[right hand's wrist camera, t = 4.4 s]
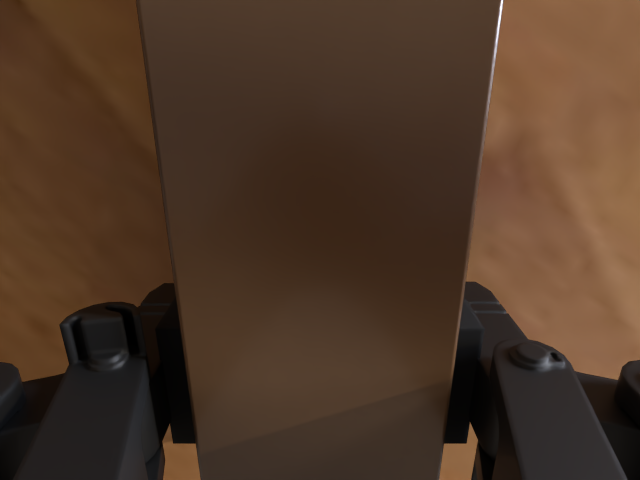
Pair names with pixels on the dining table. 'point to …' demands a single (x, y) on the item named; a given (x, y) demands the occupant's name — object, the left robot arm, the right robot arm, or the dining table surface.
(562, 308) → the dining table surface
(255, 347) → the plank
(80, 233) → the dining table surface
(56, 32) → the dining table surface
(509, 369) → the right robot arm
